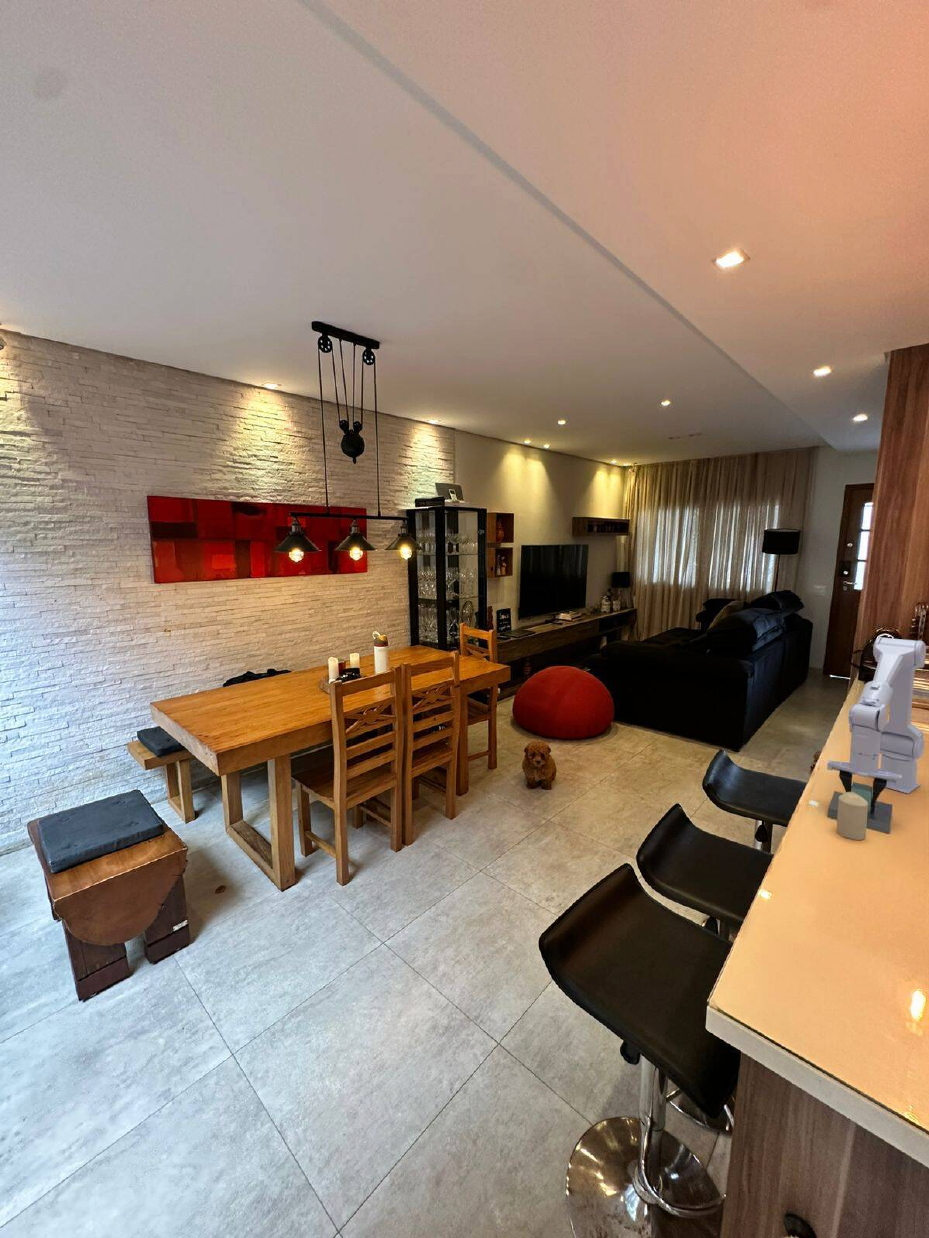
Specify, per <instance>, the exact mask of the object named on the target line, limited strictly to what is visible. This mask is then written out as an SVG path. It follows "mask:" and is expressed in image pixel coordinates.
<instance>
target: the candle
mask: <svg viewBox="0 0 929 1238" xmlns="http://www.w3.org/2000/svg"><path fill="white" fill-rule="evenodd" d="M843 793H844V792H843ZM867 812H868V802H867V801H866V800H865V799H863V798H862V797H861V796H859V795H858V794H856V793H854V792H846V791H845V793H844V794H842V795H841V796H839V801H838V816H837V820H836V832H837V834H839V835H840V836H843V837H845V838H846V839H849V840H855V841H862V840H865V839H866V835H867V828H866V825H867Z"/></svg>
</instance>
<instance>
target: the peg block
mask: <svg viewBox="0 0 929 1238" xmlns="http://www.w3.org/2000/svg"><path fill="white" fill-rule="evenodd" d="M851 792H854V793H856V794H858V795H859V796H861V797H862V798H863V799H865V800H866V801H867V802H868V812H867V813H870V812H871V800H872V795H873V785H868V784H865V783H860V782H855V781H852V787H851Z"/></svg>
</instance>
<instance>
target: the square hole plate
mask: <svg viewBox="0 0 929 1238" xmlns="http://www.w3.org/2000/svg"><path fill="white" fill-rule="evenodd" d="M842 794H844V792H841V791H836V790H834V792H833V793H832V797H831V801H830V803H829V805H828V809H827V818H829V819H833V820H836V821H837V816H838V801H839V796H841V795H842ZM892 816H893V804H892V803H891V804H890V803H886V802H882V801H878V800H876V802H875V806H874V808H873V807H871V812H870V813H867V825H866V829H871V830H874V831H876V832H877V831H878V832H882V833H885V834H890V833H891V823H892Z"/></svg>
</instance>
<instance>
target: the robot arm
mask: <svg viewBox="0 0 929 1238" xmlns="http://www.w3.org/2000/svg"><path fill="white" fill-rule="evenodd" d="M872 649H873V650H872V653H873V657H874V659H875V662H877V666H876V669H875V671H874V676H873V680H871V681H868V682H866V683H865V685H864V686H863V689H862V691H861V694H860V696H859V698H858V701H857V703H856V704H852V705H851V706H850V708H849V711H848V719H847V720H848V724H849V732H850V734H851V737H850V747H849V749H850V750H849V762H845V761H835V760H830V759H829V760H828V761H827V770H829V771H833V770H834V771H837V772H839V773H838V777H839V780H840V781H841V784H842V785H843V788H844V791H845V793H846V792H851V787H852V784H853V775H856V776H859V777H864V778H870V779H873V782H872V786H873V791H872V800H871V807H873V808H874V806H875V802H876V801H878V798H879V796H880V795H881V793H882V792H883V791H884V789H886V788H888V789H891V790H894V791H896V792H897V791H898V792H901V793H904V794H910V793H911V792H913V791H914V790H915V789H917V788H918V787H919V786H921V783H919V782H917V775H918V761H917V760H918V759H920V758H921V757H922V756H923V753H924V749H925V740H924V732H923V731H922V730H921V729H919V728H918V727H916V725H914V724H912V711H913V709H912V708H913V697H914V681H915V679H914V678H915V672H916V669H921V668H924V667H925V664H926V653H927V646H926V643H925V642H924V641H923V640H912V639H902V638H901V639H899V638H890V637H883V636H878V637H877V638H876V639H875V641H874V642H873V648H872ZM888 706H889V709H888ZM888 710H889V712H888ZM887 716H888V720H887ZM880 755H881V757H880ZM879 760H880V761H879ZM879 763H880V765H879ZM879 766H880V768H879Z"/></svg>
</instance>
